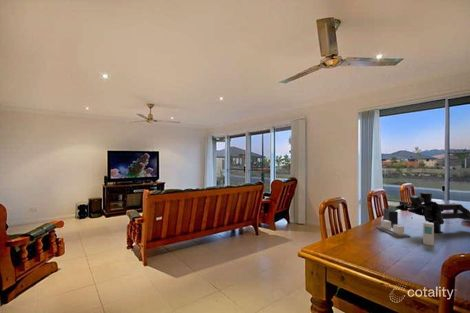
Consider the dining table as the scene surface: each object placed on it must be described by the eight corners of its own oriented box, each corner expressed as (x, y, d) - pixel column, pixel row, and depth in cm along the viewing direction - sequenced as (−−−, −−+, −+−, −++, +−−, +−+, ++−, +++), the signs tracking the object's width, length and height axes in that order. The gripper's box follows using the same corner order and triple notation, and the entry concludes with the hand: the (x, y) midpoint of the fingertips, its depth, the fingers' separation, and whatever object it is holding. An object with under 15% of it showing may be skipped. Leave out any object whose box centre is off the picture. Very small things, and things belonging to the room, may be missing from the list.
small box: (398, 225, 173) (398, 211, 173) (388, 225, 175) (388, 211, 175) (392, 222, 184) (391, 208, 184) (382, 221, 185) (382, 208, 185)
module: (424, 242, 140) (424, 221, 140) (433, 243, 137) (433, 223, 137) (423, 243, 137) (423, 223, 137) (433, 245, 134) (432, 224, 134)
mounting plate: (388, 227, 168) (388, 219, 168) (410, 237, 148) (410, 227, 148) (376, 228, 168) (376, 219, 168) (396, 237, 148) (396, 227, 148)
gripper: (409, 194, 167) (390, 194, 165) (435, 198, 149) (414, 199, 147) (409, 209, 167) (390, 210, 165) (435, 215, 149) (414, 216, 147)
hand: (401, 208), depth 156 cm, fingers open, 9 cm apart
